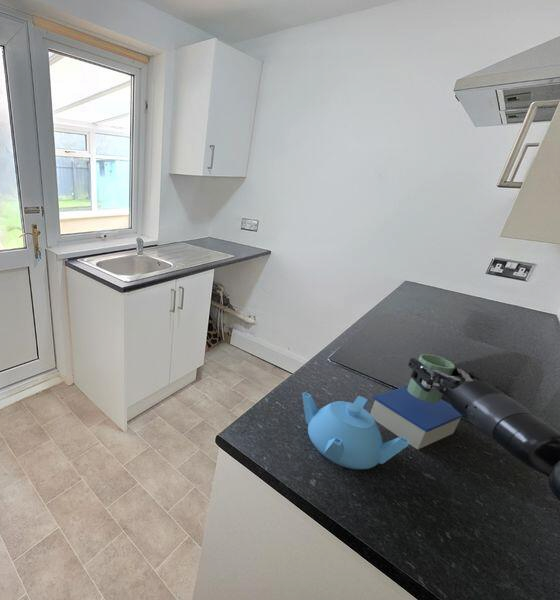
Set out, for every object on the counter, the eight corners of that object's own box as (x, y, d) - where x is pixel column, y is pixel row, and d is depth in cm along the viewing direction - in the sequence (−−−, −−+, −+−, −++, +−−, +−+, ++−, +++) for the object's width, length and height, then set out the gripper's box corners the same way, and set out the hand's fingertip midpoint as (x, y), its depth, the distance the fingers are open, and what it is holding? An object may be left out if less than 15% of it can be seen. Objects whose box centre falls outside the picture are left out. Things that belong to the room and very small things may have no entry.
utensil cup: (416, 384, 76) (429, 352, 73) (445, 399, 71) (460, 365, 68) (401, 389, 73) (414, 356, 70) (430, 405, 68) (445, 370, 65)
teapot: (401, 480, 60) (420, 437, 57) (324, 477, 60) (338, 433, 56) (355, 423, 75) (368, 386, 71) (293, 421, 74) (302, 383, 71)
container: (406, 402, 84) (414, 383, 81) (458, 432, 74) (469, 412, 72) (367, 416, 77) (374, 396, 75) (418, 451, 68) (427, 429, 65)
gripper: (544, 398, 54) (465, 351, 70) (458, 390, 55) (398, 345, 71) (524, 432, 57) (452, 379, 73) (442, 423, 58) (388, 373, 74)
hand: (426, 362), depth 72 cm, fingers closed on utensil cup, 6 cm apart
